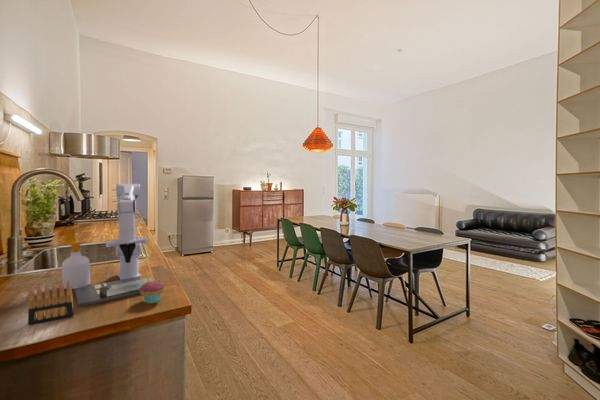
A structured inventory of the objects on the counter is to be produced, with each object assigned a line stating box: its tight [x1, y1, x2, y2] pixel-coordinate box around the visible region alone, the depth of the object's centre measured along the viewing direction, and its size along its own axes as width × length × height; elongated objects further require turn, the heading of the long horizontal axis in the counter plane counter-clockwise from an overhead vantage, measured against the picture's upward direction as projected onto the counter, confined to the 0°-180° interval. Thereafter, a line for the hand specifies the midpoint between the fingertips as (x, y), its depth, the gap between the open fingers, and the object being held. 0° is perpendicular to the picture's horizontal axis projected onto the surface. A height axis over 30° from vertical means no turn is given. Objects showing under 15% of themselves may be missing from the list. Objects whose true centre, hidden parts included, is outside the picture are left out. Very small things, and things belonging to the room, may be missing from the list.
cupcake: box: [139, 269, 166, 304], centre depth 104 cm, size 9×8×12 cm
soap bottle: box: [61, 226, 91, 290], centre depth 117 cm, size 9×9×25 cm
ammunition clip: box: [27, 280, 75, 327], centre depth 89 cm, size 11×2×12 cm, turn 125°
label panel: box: [74, 277, 141, 308], centre depth 112 cm, size 18×22×2 cm
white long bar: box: [99, 276, 155, 298], centre depth 110 cm, size 18×4×3 cm, turn 135°
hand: (127, 262), depth 117 cm, fingers closed
